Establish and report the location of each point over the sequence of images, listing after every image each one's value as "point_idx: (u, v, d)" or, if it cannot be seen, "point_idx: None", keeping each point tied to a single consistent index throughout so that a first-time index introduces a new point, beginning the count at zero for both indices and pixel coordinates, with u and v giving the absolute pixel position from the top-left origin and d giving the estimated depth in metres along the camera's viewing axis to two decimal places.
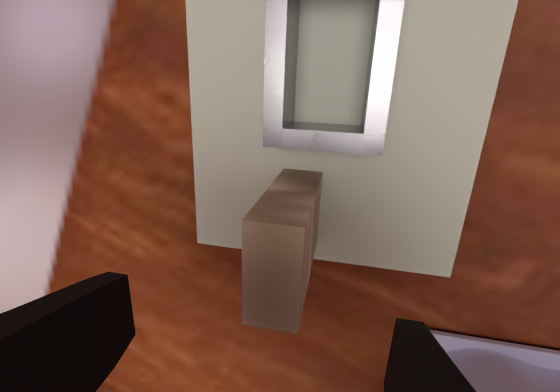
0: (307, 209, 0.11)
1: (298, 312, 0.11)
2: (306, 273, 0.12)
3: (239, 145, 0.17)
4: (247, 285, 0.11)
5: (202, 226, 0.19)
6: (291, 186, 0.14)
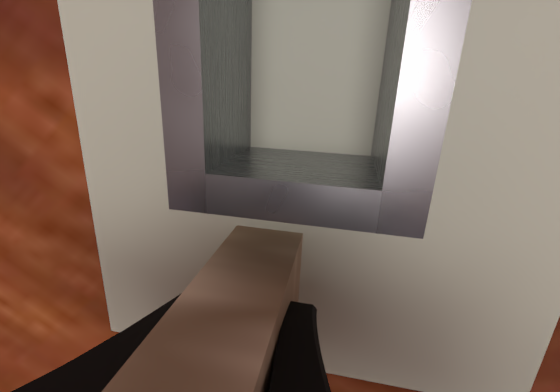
0: None
1: None
2: None
3: (162, 185, 0.10)
4: None
5: (116, 307, 0.12)
6: (232, 286, 0.07)
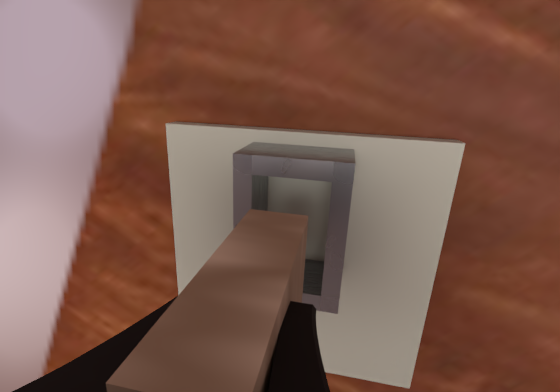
0: (266, 329, 0.06)
1: None
2: None
3: None
4: None
5: None
6: (251, 254, 0.08)
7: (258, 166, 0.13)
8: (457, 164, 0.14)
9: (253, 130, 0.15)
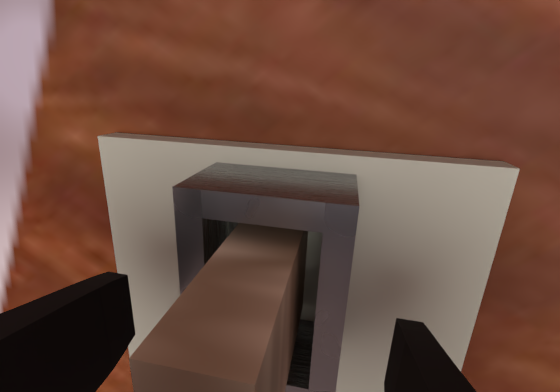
0: (271, 313, 0.06)
1: None
2: None
3: None
4: None
5: None
6: (256, 246, 0.08)
7: (211, 206, 0.08)
8: (506, 198, 0.10)
9: (215, 146, 0.11)
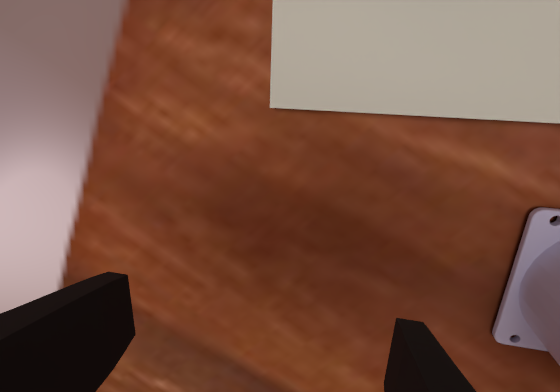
0: None
1: None
2: None
3: None
4: None
5: (277, 83, 0.15)
6: None
7: None
8: None
9: None
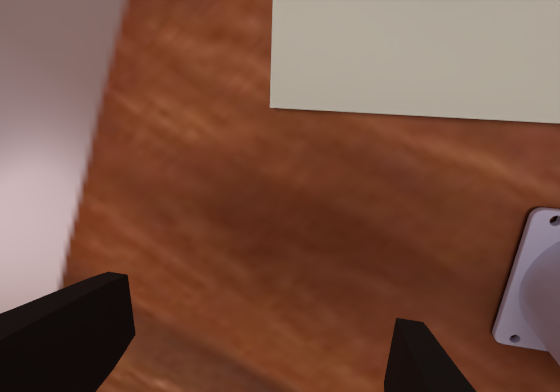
0: None
1: None
2: None
3: None
4: None
5: (277, 83, 0.15)
6: None
7: None
8: None
9: None
